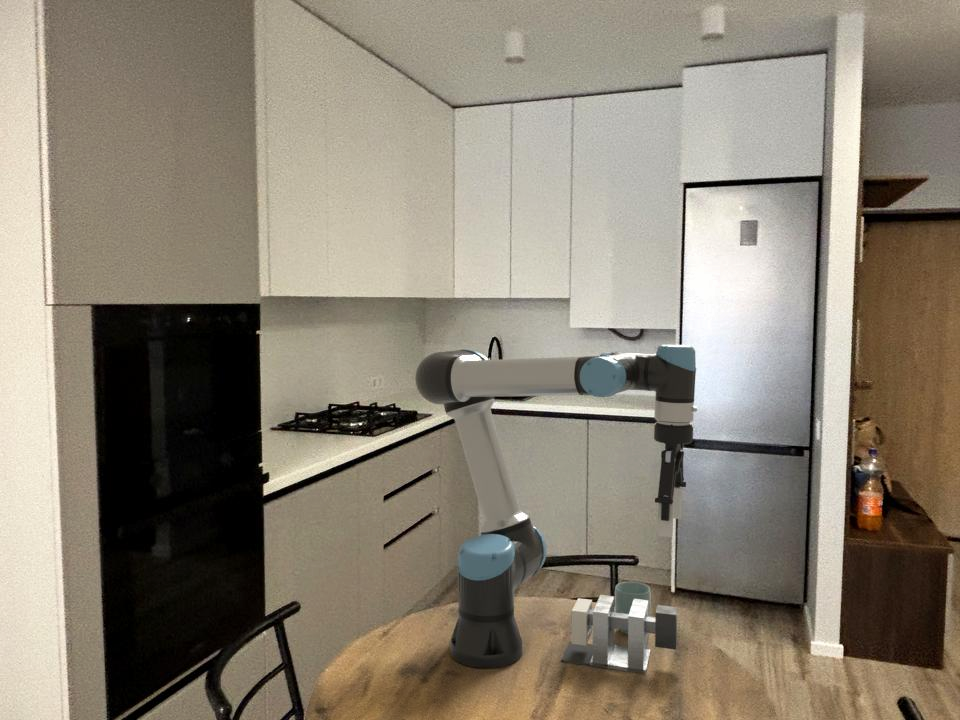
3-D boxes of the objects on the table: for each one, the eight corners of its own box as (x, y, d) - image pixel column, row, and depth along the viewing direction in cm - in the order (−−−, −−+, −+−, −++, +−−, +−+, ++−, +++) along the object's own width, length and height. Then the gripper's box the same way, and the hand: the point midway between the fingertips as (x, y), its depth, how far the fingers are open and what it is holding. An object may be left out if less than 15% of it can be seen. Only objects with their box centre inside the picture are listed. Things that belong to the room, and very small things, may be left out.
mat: (560, 661, 149) (560, 659, 149) (569, 642, 157) (569, 641, 157) (590, 665, 147) (590, 664, 147) (597, 646, 156) (597, 645, 156)
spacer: (571, 643, 149) (571, 610, 149) (577, 629, 156) (578, 598, 155) (586, 645, 148) (586, 612, 148) (592, 631, 155) (592, 599, 154)
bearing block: (590, 665, 147) (590, 611, 146) (597, 646, 156) (597, 594, 155) (645, 674, 143) (646, 618, 143) (650, 653, 152) (650, 600, 152)
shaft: (570, 635, 151) (570, 602, 150) (574, 627, 154) (574, 595, 154) (676, 649, 144) (676, 614, 144) (677, 641, 148) (677, 607, 147)
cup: (650, 640, 158) (651, 595, 158) (614, 637, 160) (614, 592, 159) (649, 625, 166) (650, 582, 165) (615, 623, 168) (615, 580, 167)
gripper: (685, 433, 133) (681, 547, 134) (699, 415, 156) (695, 513, 157) (644, 429, 136) (640, 541, 137) (663, 413, 159) (660, 509, 160)
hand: (669, 526), depth 147 cm, fingers open, 13 cm apart
